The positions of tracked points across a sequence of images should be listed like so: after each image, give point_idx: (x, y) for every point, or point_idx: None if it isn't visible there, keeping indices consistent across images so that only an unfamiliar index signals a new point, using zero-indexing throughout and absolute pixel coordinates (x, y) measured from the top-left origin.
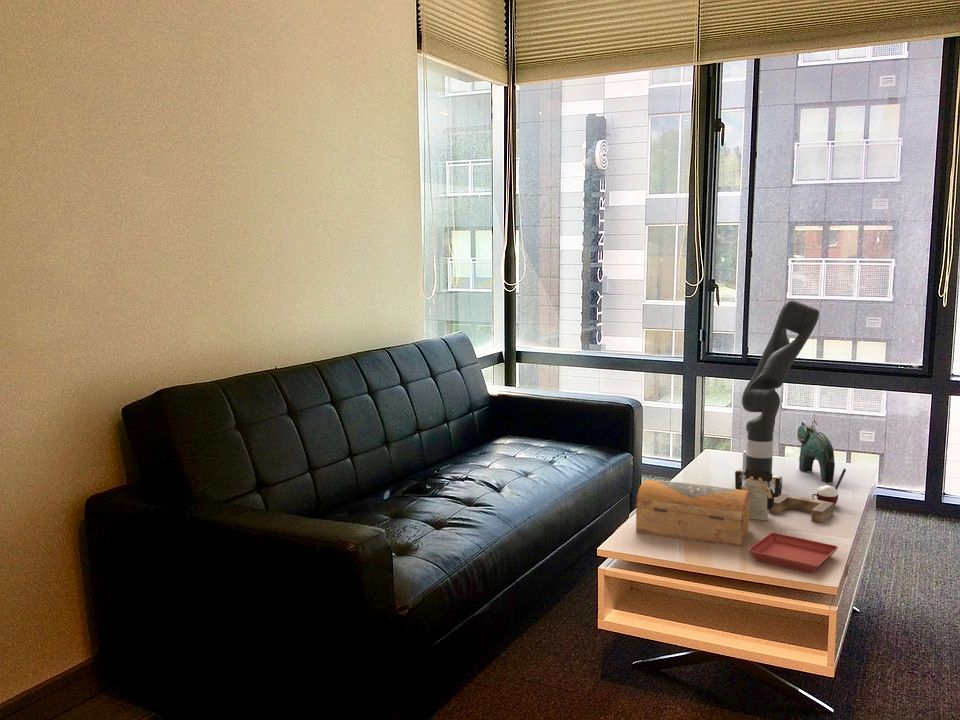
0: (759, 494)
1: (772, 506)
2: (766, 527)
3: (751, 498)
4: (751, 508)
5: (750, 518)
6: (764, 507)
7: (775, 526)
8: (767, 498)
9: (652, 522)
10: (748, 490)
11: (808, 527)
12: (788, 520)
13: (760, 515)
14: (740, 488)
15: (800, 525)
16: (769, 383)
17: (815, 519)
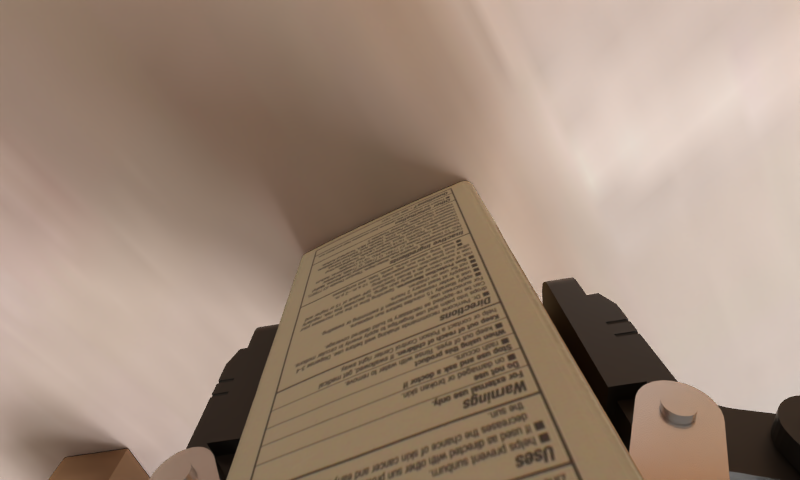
0: (335, 438)
1: (228, 375)
2: (173, 89)
3: (454, 324)
4: (433, 244)
5: (431, 195)
6: (298, 319)
7: (154, 184)
8: (239, 432)
9: None
10: (550, 421)
11: (20, 347)
12: (216, 370)
13: (346, 250)
14: (762, 453)
15: (83, 343)
16: None
17: (93, 467)
